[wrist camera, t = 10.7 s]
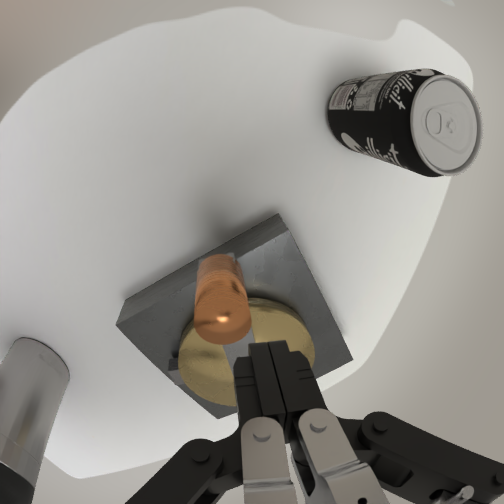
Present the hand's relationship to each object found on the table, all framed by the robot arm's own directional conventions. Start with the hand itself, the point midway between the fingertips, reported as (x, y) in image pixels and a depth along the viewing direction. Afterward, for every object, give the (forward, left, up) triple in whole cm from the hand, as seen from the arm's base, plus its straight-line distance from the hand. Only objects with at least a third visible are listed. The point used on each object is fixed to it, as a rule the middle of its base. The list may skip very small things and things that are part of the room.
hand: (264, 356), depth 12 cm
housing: (-5, -10, -16) cm, 19 cm away
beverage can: (+14, +3, -16) cm, 22 cm away
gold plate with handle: (-5, -7, -12) cm, 14 cm away
